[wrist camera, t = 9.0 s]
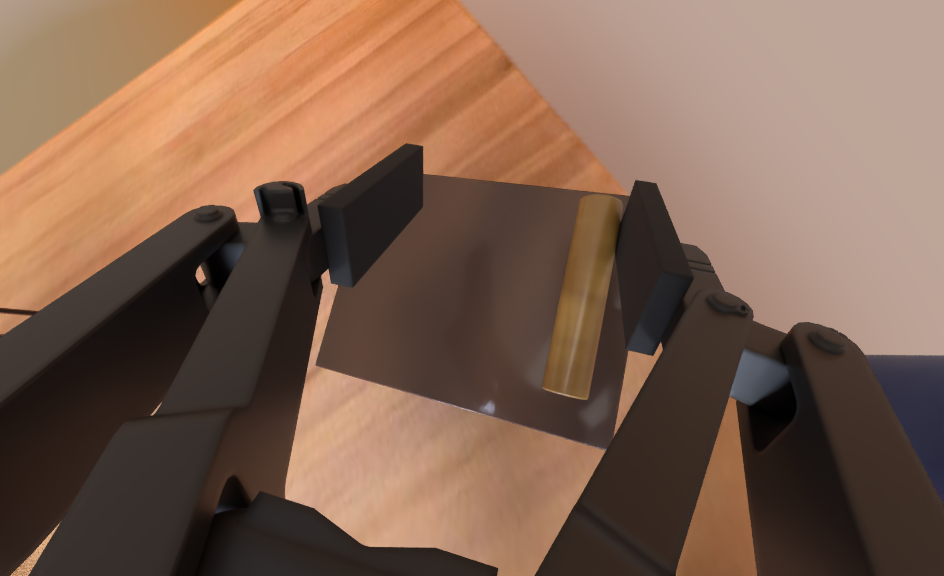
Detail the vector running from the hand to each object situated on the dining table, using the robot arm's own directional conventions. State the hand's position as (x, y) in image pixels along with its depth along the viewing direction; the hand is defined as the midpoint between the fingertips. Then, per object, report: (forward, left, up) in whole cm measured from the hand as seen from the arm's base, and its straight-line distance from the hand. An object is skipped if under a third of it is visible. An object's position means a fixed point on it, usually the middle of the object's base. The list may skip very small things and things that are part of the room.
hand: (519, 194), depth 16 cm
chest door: (+1, +4, -6) cm, 7 cm away
